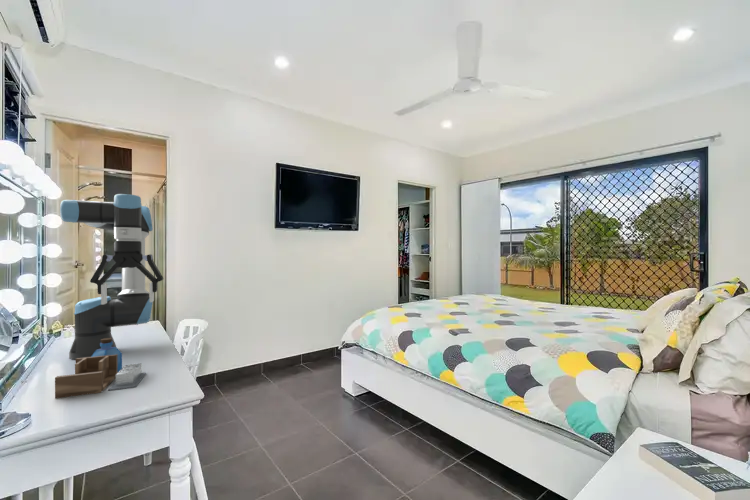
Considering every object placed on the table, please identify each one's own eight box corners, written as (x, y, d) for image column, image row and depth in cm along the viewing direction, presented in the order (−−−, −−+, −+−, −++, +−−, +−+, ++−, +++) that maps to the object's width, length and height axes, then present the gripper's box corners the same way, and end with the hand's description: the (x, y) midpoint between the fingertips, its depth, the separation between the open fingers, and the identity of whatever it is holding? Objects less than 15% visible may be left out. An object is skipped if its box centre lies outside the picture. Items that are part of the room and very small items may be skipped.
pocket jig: (77, 380, 112) (77, 358, 112) (117, 376, 116) (117, 354, 116) (55, 398, 99) (54, 372, 99) (101, 392, 103) (101, 367, 103)
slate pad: (122, 376, 116) (122, 375, 116) (146, 373, 119) (146, 372, 119) (108, 390, 104) (108, 389, 104) (135, 387, 107) (135, 386, 107)
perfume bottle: (105, 377, 116) (105, 341, 116) (90, 375, 117) (90, 340, 117) (122, 370, 122) (121, 337, 122) (107, 369, 123) (107, 336, 123)
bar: (125, 375, 116) (125, 365, 116) (141, 373, 118) (141, 363, 118) (115, 385, 107) (115, 374, 107) (133, 383, 109) (133, 372, 109)
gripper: (77, 239, 108) (77, 306, 108) (168, 240, 117) (168, 302, 117) (87, 240, 115) (87, 302, 115) (172, 240, 124) (172, 299, 124)
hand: (128, 302), depth 116 cm, fingers open, 13 cm apart
